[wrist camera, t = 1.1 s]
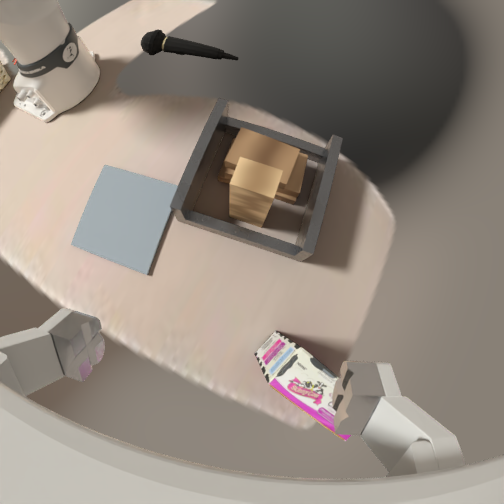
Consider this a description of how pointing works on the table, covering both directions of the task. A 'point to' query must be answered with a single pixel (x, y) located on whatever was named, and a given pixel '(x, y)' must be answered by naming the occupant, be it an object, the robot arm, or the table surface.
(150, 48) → the microphone
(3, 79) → the storage basket
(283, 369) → the candy bar box
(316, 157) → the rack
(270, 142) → the offcut stack
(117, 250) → the slate mat
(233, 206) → the tan wooden block
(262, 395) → the table surface
